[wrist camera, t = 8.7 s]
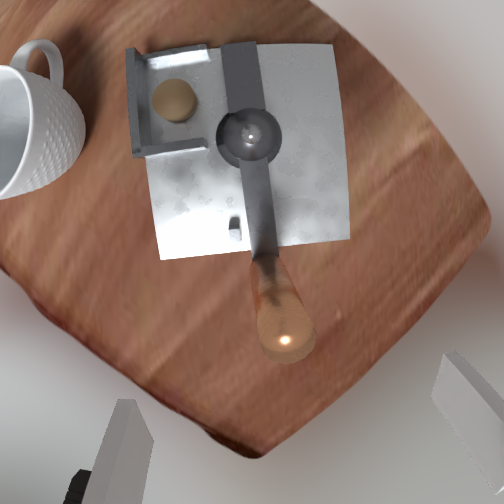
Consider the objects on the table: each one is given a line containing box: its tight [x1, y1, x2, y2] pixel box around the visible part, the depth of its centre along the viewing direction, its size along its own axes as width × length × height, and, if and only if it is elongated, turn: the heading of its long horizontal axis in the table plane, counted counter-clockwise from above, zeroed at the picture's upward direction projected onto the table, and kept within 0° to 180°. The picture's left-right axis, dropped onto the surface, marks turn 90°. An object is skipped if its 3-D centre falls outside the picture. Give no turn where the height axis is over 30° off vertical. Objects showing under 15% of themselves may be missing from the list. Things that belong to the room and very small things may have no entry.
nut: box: [152, 78, 198, 123], centre depth 25 cm, size 4×4×3 cm
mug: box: [0, 39, 86, 199], centre depth 21 cm, size 15×11×13 cm
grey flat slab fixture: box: [126, 44, 350, 260], centre depth 27 cm, size 20×19×6 cm
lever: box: [220, 41, 316, 363], centre depth 21 cm, size 22×4×14 cm, turn 8°
